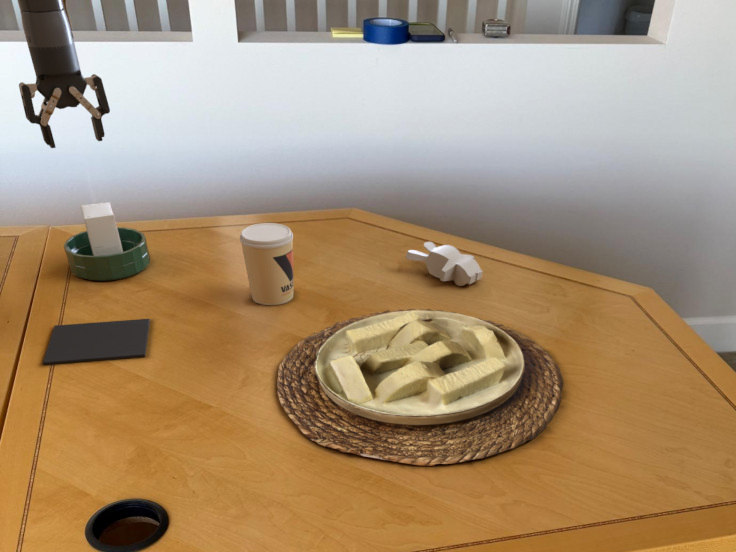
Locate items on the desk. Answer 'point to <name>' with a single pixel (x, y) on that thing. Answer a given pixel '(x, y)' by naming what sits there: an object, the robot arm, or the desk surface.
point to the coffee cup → (269, 262)
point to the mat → (97, 341)
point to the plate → (419, 387)
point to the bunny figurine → (448, 263)
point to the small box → (101, 229)
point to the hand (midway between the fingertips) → (76, 143)
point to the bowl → (108, 257)
